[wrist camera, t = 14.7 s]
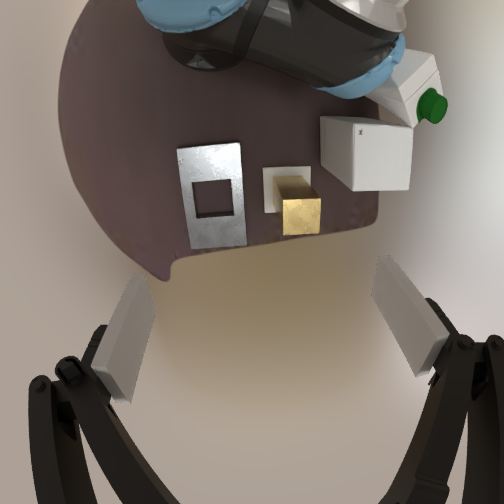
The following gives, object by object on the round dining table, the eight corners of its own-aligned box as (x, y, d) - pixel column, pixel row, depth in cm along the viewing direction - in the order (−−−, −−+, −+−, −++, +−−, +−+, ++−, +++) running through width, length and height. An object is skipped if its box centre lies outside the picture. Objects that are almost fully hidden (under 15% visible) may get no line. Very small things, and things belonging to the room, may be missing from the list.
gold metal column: (272, 176, 47) (283, 200, 36) (301, 175, 47) (320, 198, 36) (273, 204, 49) (283, 235, 39) (301, 203, 49) (319, 233, 39)
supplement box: (319, 166, 47) (350, 193, 34) (318, 115, 42) (352, 121, 29) (367, 166, 47) (410, 192, 34) (368, 117, 42) (415, 127, 29)
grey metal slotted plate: (179, 147, 44) (176, 149, 42) (239, 141, 44) (239, 142, 42) (192, 243, 53) (191, 249, 51) (246, 239, 53) (246, 245, 51)
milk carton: (327, 83, 40) (422, 142, 29) (299, 46, 33) (408, 95, 22) (360, 53, 37) (458, 103, 26) (336, 15, 30) (450, 54, 19)
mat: (262, 167, 47) (262, 168, 46) (309, 165, 47) (310, 166, 46) (264, 211, 50) (264, 212, 50) (309, 209, 51) (309, 210, 50)
